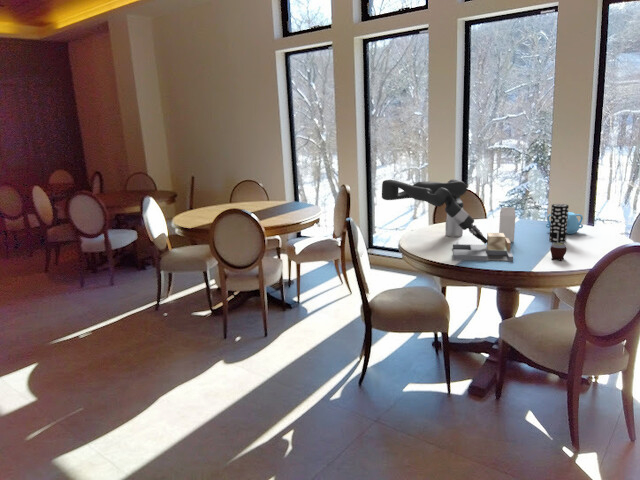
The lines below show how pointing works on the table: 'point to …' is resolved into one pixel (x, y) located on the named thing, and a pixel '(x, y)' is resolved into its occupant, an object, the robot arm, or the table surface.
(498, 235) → the beech block
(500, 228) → the milk carton
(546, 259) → the table surface
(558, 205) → the white-spotted black cylinder
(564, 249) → the mate gourd
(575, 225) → the decorative pot
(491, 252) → the trap deck
